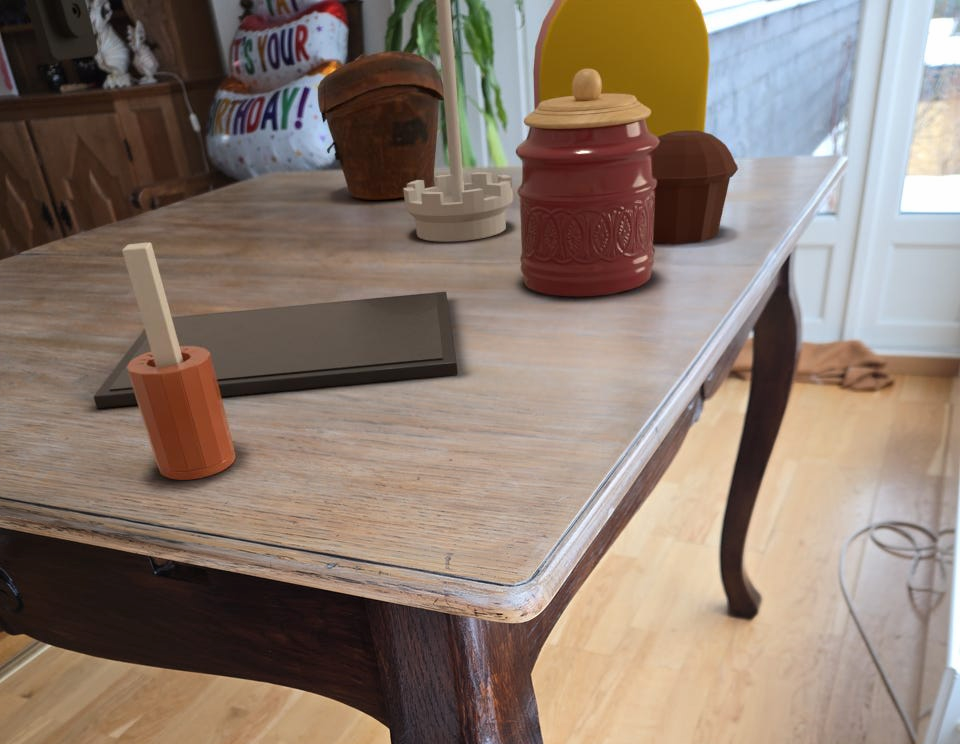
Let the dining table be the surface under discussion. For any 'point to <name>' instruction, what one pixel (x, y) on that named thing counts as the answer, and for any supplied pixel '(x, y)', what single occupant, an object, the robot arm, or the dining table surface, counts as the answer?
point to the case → (383, 121)
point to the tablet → (310, 346)
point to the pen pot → (183, 414)
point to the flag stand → (456, 173)
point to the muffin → (690, 186)
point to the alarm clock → (629, 56)
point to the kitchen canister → (587, 193)
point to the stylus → (152, 304)
